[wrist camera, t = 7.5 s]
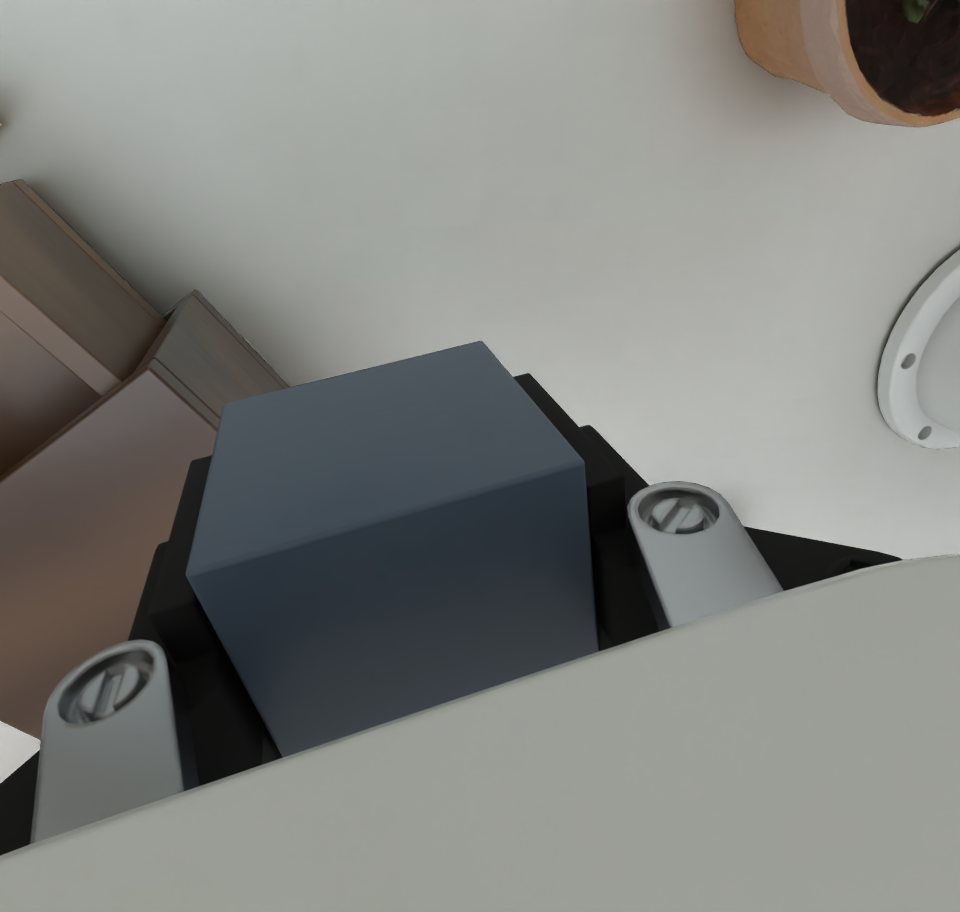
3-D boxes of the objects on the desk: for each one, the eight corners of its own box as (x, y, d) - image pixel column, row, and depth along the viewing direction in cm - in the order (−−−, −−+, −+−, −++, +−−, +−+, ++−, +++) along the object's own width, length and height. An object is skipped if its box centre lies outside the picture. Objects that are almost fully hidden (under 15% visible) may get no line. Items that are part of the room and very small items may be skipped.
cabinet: (-47, 478, 25) (-194, 630, 17) (196, 288, 24) (148, 366, 16) (211, 649, 32) (183, 809, 24) (407, 510, 31) (439, 633, 23)
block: (222, 402, 10) (181, 575, 6) (482, 338, 11) (585, 459, 7) (304, 600, 13) (310, 812, 9) (513, 537, 13) (605, 709, 9)
